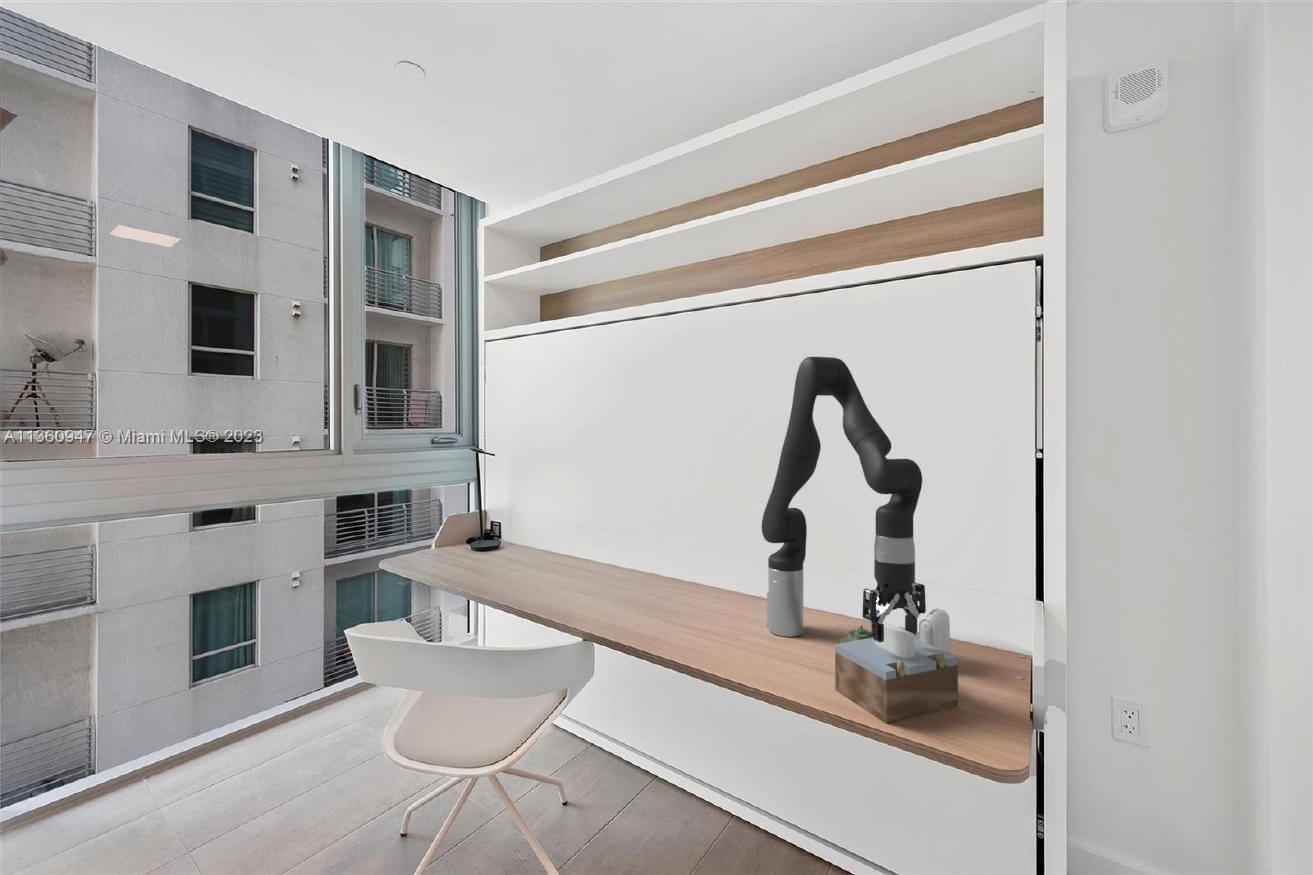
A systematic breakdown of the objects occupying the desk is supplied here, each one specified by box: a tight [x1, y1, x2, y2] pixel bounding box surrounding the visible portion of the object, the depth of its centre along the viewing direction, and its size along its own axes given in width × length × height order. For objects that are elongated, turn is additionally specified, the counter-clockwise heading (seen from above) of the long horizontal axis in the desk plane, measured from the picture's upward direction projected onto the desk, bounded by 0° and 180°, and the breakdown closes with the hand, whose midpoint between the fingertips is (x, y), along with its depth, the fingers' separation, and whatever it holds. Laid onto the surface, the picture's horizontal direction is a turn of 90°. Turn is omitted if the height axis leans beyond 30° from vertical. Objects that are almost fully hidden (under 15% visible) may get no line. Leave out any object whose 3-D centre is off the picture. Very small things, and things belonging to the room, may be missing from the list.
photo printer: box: [918, 607, 951, 654], centre depth 124 cm, size 10×4×12 cm, turn 133°
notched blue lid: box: [834, 620, 959, 680], centre depth 108 cm, size 14×18×6 cm
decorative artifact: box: [839, 624, 873, 644], centre depth 129 cm, size 10×7×10 cm
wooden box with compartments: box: [834, 651, 959, 725], centre depth 108 cm, size 14×18×10 cm
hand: (894, 637), depth 108 cm, fingers open, 8 cm apart
